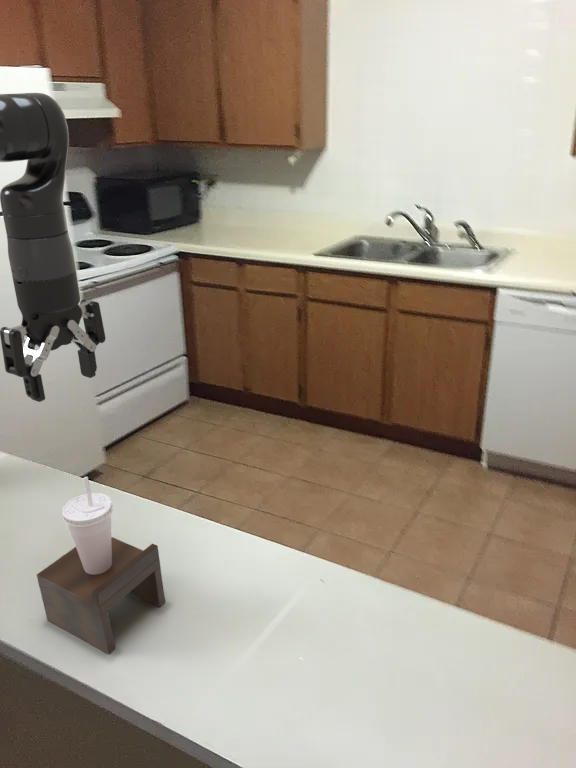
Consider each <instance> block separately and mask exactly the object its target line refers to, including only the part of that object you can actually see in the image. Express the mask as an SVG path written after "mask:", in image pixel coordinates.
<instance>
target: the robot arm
mask: <svg viewBox="0 0 576 768" xmlns="http://www.w3.org/2000/svg"><path fill="white" fill-rule="evenodd" d="M69 143H70V133H69V125H68V122H67V118H66V116H65V112H64V111H63V110H62V108H61V106H60V105H59V103H58V102H57V101H56V100H55V99H54V98H53V97H51V96H50V95H48V94H46V93H44V92H43V93H42V92H25V93H24V92H21V93H0V163H13V162H20V161H26V166H25V169H24V170H25V171H24V173H23V175H22V176H21V177H20V178H18V179H16V180H14V181H11V182H10V183H8V184H5V185H4V186H3V187H2V188H1V190H0V207H1V213H2V217H3V223H4V228H5V233H6V241H7V255H8V256H7V257H8V262H9V267H10V271H11V276H12V283H13V287H14V293H15V297H16V302H17V303H16V304H17V307H18V309H19V311H20V314H21V317H22V318H21V323H20V325H17V326H14V327H7V326H3V327H0V343H1V349H2V356H3V362H4V370H5V372H6V373H8V374H11V375H14V376H16V377H19V378H22V380H23V384H24V389H25V394H26V396H27V397H28V398H30V399H31V400H33V401H36V402H38V403H41V402H43V401H45V400H46V394H45V389H44V384H43V379H42V374H41V373H40V371H41V369H42V366H43V364H44V361H47V359H48V358H49V355H50V352H51V351H55V350H58V349H59V348H60V347H62V346H67V345H70V344H72V343H73V344H74V345H75V346H76V347H77V348H78V350H77V356H78V362H79V368H80V374H81V375H82V376H83V377H85V378H89V379H92V378H94V377H96V376H97V375H96V374H97V373H96V372H97V369H98V365H97V359H96V349H97V347H98V345H99V344H103V343H105V341H106V333H105V328H104V322H103V317H102V313H101V306H100V303H99V302H98V301H94V300H90V299H86V298H83V299H81V295H80V288H79V281H78V277H77V276H78V274H77V268H76V262H75V254H74V249H73V244H72V241H71V237H70V234H69V231H68V230H69V229H68V222H67V216H66V210H65V204H64V203H65V202H64V188H65V183H66V182H65V181H66V171H67V161H68V153H69ZM81 319H82V321H83V325H84V330H83V329H82V327H81V326H79V325H80V323H81ZM25 337H26V340H25ZM36 346H37V347H38V348H39V349H38V350H36Z"/></svg>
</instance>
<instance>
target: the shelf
mask: <svg viewBox="0 0 576 768" xmlns="http://www.w3.org/2000/svg"><path fill="white" fill-rule="evenodd" d="M111 541H112V565H111V567H110V568H109V569H108V570H107V571H105V572H103V573H101V574H96V575H92V574H88V573H86V572H85V570H84V568H83V565H82V562H81V560H80V557H79V554H78V551H77V549H76V546H74V547H73V548H71V549H70V550H69V551H67V552H66V553H65V554H63V555H62V556H60V557H59V558H57V559H56V560H55V561H54V562H52V563H50V564H49V565H48V566H47V567H45V568H43V569H42V570H41V571H40V572H38V573H36V578H37V582H38V587H39V591H40V595H41V596H40V597H41V599H42V604H43V609H44V612H45V617H46V620H47V621H48V622H50V623H52V624H54V625H55V626H57V627H59V628H61V629H63V630H64V631H66V632H68V633H70V634H71V635H73V636H75V637H77V638H79V639H80V640H82V641H84V642H86V643H88V644H90V645H91V646H93V647H94V648H97V649H99V650H100V651H102V652H103V653H106V654H107V655H110V654H111V653H112V652H113V651H114V650H115V649H116V645H115V639H114V635H113V628H112V623H111V618H110V612H109V610H110V609H112V608H113V607H114V606H115V605H116V604H117V603H119V602H120V601H121V600H122V599H123V598H125V597H126V596H127V595H128V594H132V595H134V596H136V597H138V598H140V599H141V600H143V601H146V602H149V603H150V604H152V605H154V606H156V607H158V608H161V607H162V606H163V605H164V604H165V603H166V596H165V588H164V583H163V576H162V569H161V560H160V559H161V558H160V553H159V546H158V545H157V544H154V543H151V544H150V545H148V546H147V547H146V548H145V549H141V548H138V547H136V546H133V545H131V544H129V543H127V542H124V541H122V540H121V539H118V538H116V537H113V536H111Z"/></svg>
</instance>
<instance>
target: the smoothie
mask: <svg viewBox="0 0 576 768" xmlns="http://www.w3.org/2000/svg"><path fill="white" fill-rule="evenodd" d="M83 483H84V488H85V489H84V490H85V493H83V494H79V495H77V496H74V497H73V498H71V499H70V500H67V502H66V503H65V504H64V505H63V506H62V509H61V514H62V520H63V522H64V523H65V524H66V525H67V527H68V530H69V532H70V536H71V539H72V540H73V543H74V547H76V549H77V551H78V554H79V557H80V560H81V562H82V565H83V568H84V570H85V572H86V573H88V574H92V575H96V574H101V573H103V572H105V571H107V570H108V569H109V568H110V567H111V565H112V541H111V537H112V513H113V512H114V505H113V502H112V501H113V500H112V499H111V497H110V496H109V495H107V494H104V493H102V492H101V493H100V492H91V487H90V482H89V477H88V476H84V477H83Z"/></svg>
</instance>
